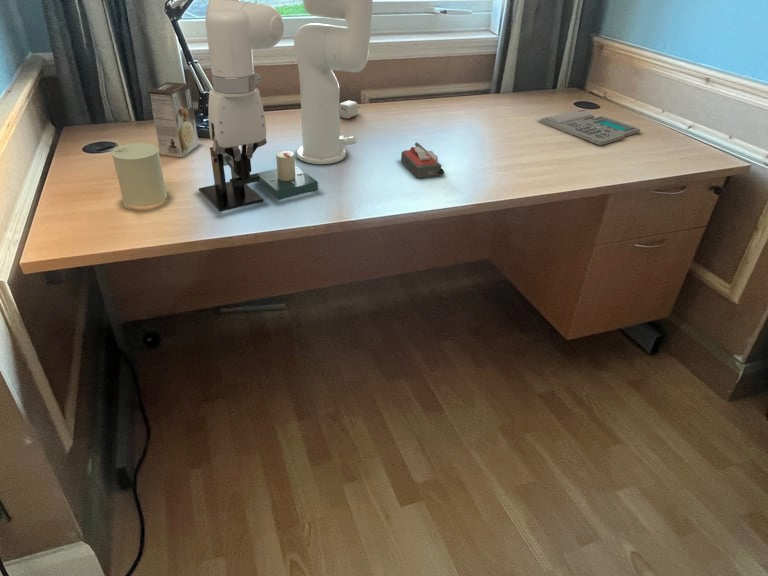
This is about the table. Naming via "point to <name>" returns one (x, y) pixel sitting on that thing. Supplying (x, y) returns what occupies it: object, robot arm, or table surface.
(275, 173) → the dial panel
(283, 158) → the dial
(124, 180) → the can
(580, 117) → the office telephone
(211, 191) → the pivoting lever stand
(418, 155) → the walkie-talkie
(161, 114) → the coffee box
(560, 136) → the table surface
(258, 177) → the lever
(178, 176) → the table surface
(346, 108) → the usb wall charger
